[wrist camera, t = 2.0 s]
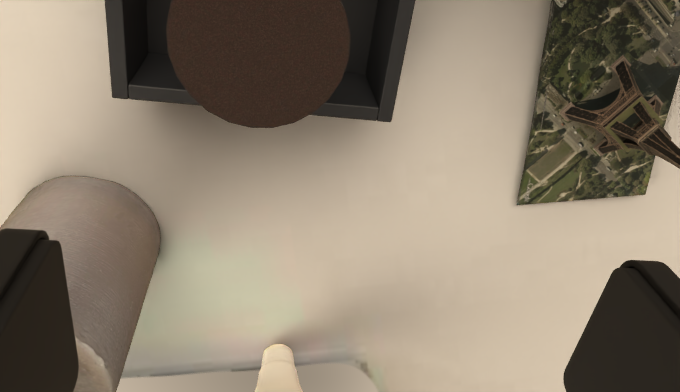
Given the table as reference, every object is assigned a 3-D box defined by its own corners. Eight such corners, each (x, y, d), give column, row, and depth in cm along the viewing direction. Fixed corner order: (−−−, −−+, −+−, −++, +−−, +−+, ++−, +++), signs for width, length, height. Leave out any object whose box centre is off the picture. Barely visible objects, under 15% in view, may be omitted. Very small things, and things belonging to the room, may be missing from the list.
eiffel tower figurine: (544, -8, 34) (681, 61, 22) (704, -19, 34) (917, 43, 23) (514, 202, 42) (604, 332, 30) (645, 190, 42) (782, 313, 31)
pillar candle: (92, 305, 43) (14, 496, 30) (-17, 220, 38) (-165, 404, 25) (191, 242, 40) (152, 419, 28) (88, 144, 36) (-15, 303, 23)
